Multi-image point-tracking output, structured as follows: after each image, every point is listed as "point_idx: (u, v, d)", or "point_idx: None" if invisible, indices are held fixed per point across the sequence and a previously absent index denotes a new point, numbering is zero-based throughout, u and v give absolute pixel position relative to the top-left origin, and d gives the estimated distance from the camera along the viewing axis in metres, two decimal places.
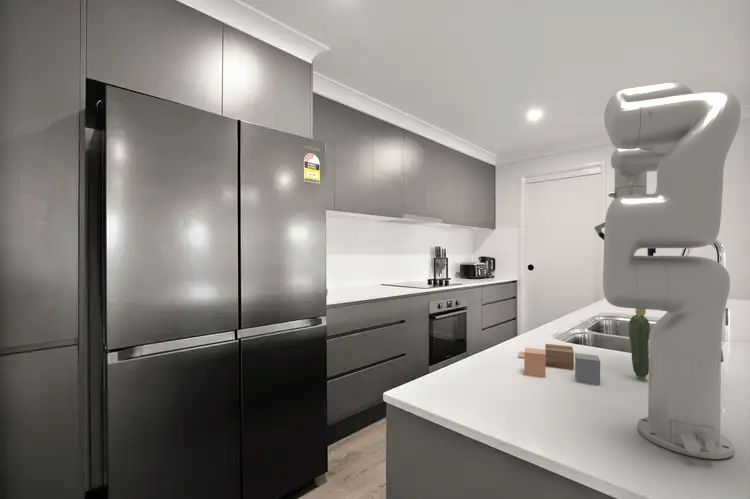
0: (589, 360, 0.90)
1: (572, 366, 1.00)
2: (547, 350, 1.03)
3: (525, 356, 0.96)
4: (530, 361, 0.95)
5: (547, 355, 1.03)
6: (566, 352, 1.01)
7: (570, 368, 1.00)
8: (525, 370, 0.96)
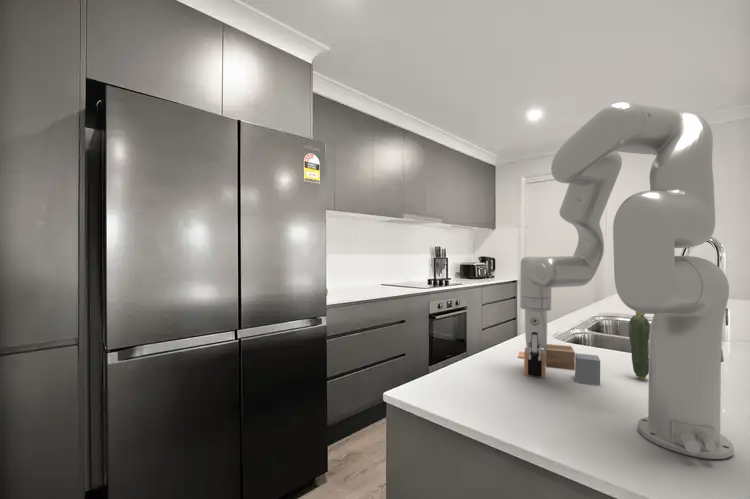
0: (589, 360, 0.90)
1: (573, 366, 1.00)
2: (548, 350, 1.02)
3: (525, 356, 0.96)
4: None
5: (548, 355, 1.02)
6: (567, 352, 1.01)
7: (571, 368, 1.00)
8: (525, 370, 0.96)
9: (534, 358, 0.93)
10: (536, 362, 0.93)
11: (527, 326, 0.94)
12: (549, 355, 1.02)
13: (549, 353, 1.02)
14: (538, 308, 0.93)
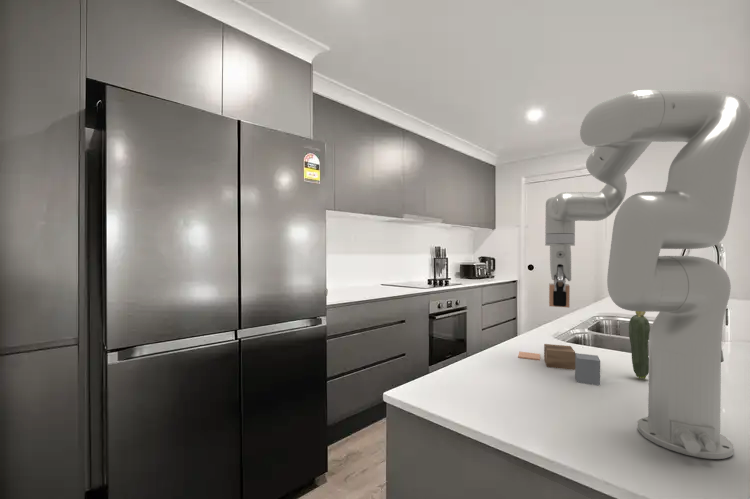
0: (589, 360, 0.90)
1: (573, 366, 1.00)
2: (549, 350, 1.02)
3: (550, 288, 1.03)
4: None
5: (549, 355, 1.02)
6: (567, 352, 1.01)
7: (571, 368, 1.00)
8: (550, 301, 1.03)
9: (559, 289, 1.00)
10: (561, 293, 1.01)
11: (553, 259, 1.01)
12: (550, 355, 1.02)
13: (550, 353, 1.02)
14: (563, 243, 1.01)
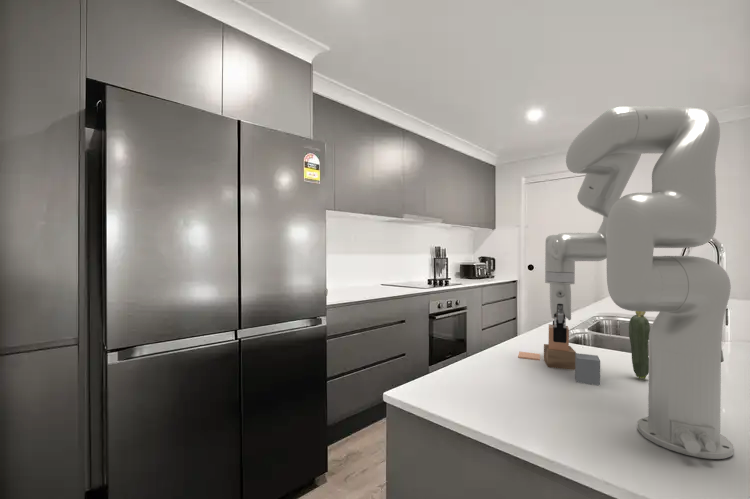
0: (589, 360, 0.90)
1: (574, 366, 1.00)
2: (549, 351, 1.02)
3: (549, 331, 1.03)
4: None
5: (549, 356, 1.02)
6: (568, 352, 1.01)
7: (572, 368, 1.00)
8: (549, 344, 1.03)
9: (560, 325, 0.98)
10: (561, 329, 0.99)
11: (553, 298, 1.01)
12: (550, 355, 1.02)
13: (550, 353, 1.02)
14: (563, 282, 1.01)
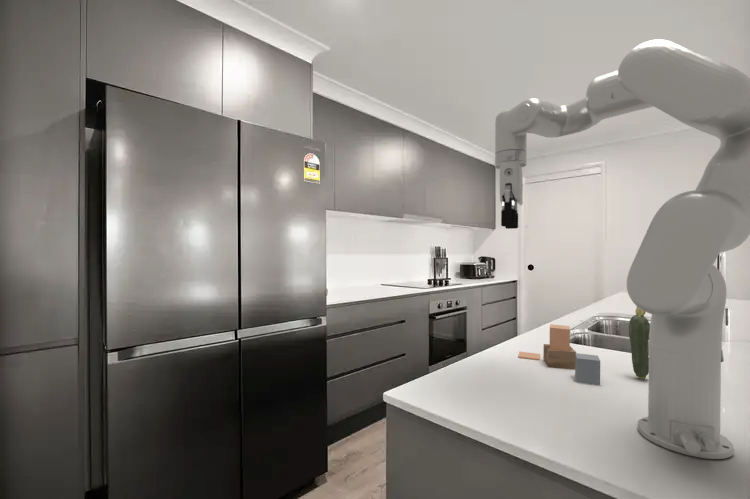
0: (589, 360, 0.90)
1: (574, 366, 1.00)
2: (550, 351, 1.02)
3: (550, 331, 1.03)
4: (555, 335, 1.03)
5: (550, 356, 1.02)
6: (568, 352, 1.01)
7: (572, 368, 1.00)
8: (550, 344, 1.03)
9: (507, 205, 0.88)
10: (509, 210, 0.89)
11: (501, 179, 0.91)
12: (551, 355, 1.02)
13: (551, 353, 1.02)
14: (512, 160, 0.90)
